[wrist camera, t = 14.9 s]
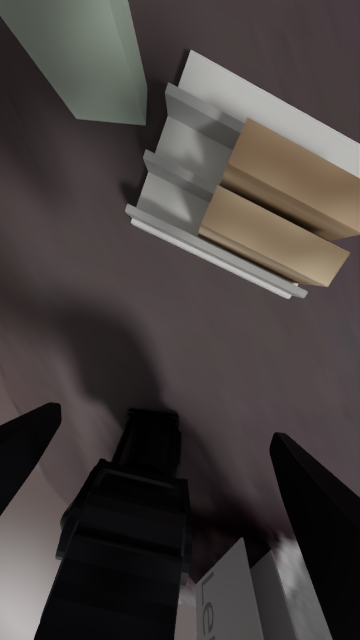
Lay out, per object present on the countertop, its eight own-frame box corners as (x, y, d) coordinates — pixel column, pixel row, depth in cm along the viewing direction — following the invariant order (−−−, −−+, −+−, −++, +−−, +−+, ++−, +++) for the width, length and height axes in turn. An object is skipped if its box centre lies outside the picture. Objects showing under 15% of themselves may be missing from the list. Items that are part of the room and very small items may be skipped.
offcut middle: (317, 243, 17) (362, 233, 12) (216, 192, 16) (227, 163, 12) (334, 215, 16) (389, 194, 12) (231, 160, 15) (247, 117, 11)
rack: (284, 297, 19) (301, 302, 16) (133, 225, 18) (123, 216, 15) (367, 161, 16) (407, 137, 13) (190, 64, 15) (191, 13, 12)
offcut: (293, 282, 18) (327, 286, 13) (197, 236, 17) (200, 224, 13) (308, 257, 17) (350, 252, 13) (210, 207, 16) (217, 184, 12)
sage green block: (145, 125, 16) (59, -167, 5) (76, 118, 16) (-146, -182, 5) (147, 88, 15) (52, -332, 5) (75, 81, 15) (-180, -345, 5)
